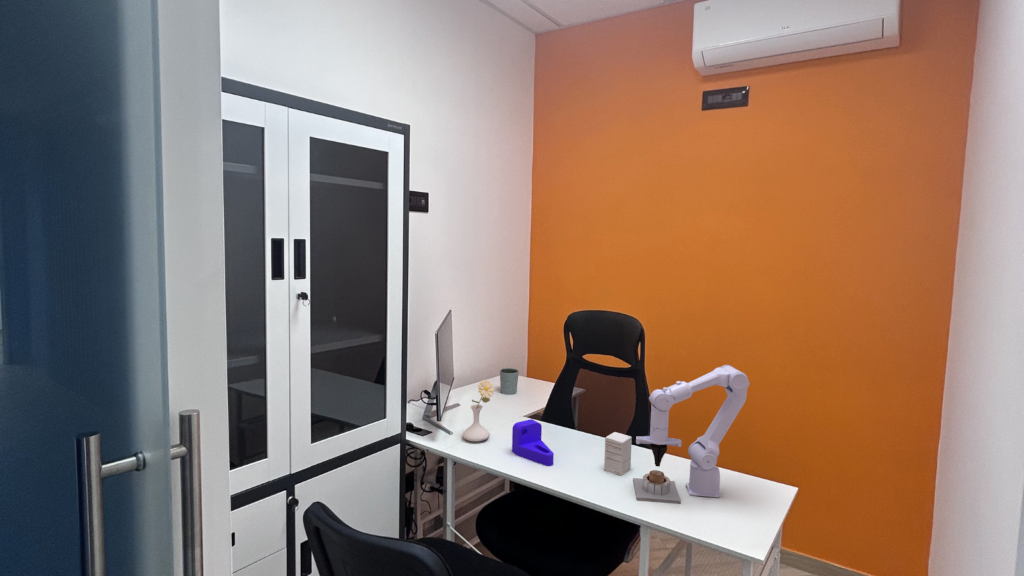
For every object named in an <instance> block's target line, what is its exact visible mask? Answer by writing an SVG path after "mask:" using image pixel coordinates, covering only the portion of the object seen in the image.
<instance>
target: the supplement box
mask: <svg viewBox="0 0 1024 576" xmlns="http://www.w3.org/2000/svg"><path fill="white" fill-rule="evenodd" d="M632 439H633V437H632V436H630V435H627V434H623V433H620V432H616V431H614V432H612V433H610V434H609V435H607V436H606V437H605V440H604V459H603V460H604V466H603V470H604V471H607V472H609V473H612V474H615V475H618V476H623V475H624V474H626V473H627V472H628V471H630V470H631V467H632V464H631V463H632V462H631V461H632V443H633V441H632Z"/></svg>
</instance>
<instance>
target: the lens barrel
mask: <svg viewBox="0 0 1024 576" xmlns="http://www.w3.org/2000/svg"><path fill="white" fill-rule="evenodd" d="M642 479H643V485H642V487H643V490H644V491H646V492H648V493H650V494H653V495H666V494H668V493H669V492H670V481H671V479H670V477H668V476H666V475H665V474H664V483H661V484H658V483H653V482H650V481H649V473H645V474H644V475H643V476H642Z"/></svg>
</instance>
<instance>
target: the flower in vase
mask: <svg viewBox="0 0 1024 576" xmlns="http://www.w3.org/2000/svg"><path fill="white" fill-rule="evenodd" d="M477 387H478V391H477V392H478V393H479V395H480V399H479V401H476V400H474V399H471V402H472V403H477V404H472V405H470V409H471V410H472V414H473V423H472V424H471V425H470V426H469V427H467V428H466V429H465V430H464V431H463V432H462V437H463V439H465V440H466V441H471V442H482V441H485V440H487V439H489V437H490V436H491V433H490V431H489V430H488V429H487V428H485V427H484V426H482V425H481V423H480V413H481V410H482V408H483V405H481V404H480V402H481V401H482V402H483V403H484V404H485V403H488V402H490V401H491V397H492V396H493V395H494V392H495V389H494V388H495V387H494V385H493V383H491V381H490V380H488V379H482V380H481V382H479V383H478V386H477Z"/></svg>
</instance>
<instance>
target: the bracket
mask: <svg viewBox="0 0 1024 576" xmlns="http://www.w3.org/2000/svg"><path fill="white" fill-rule="evenodd" d="M542 431H543V429H542V424H541V423H540V422H538V421H536V420H534V419H532V418H530V419H526V420H521V421H517V422H515V423H514V424H513V426H512V431H511V432H512V433H511V434H512V435H511V453H513V454H514V455H516V456H517V457H520V458H523V459H526V460H529V461H531V462H534V463H537V464H538V465H542V466H546V467H552V466H554V452H553V451H552V449H550V447H548V446H547V444H546V443H545V442H544V441H543V440H542Z"/></svg>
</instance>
